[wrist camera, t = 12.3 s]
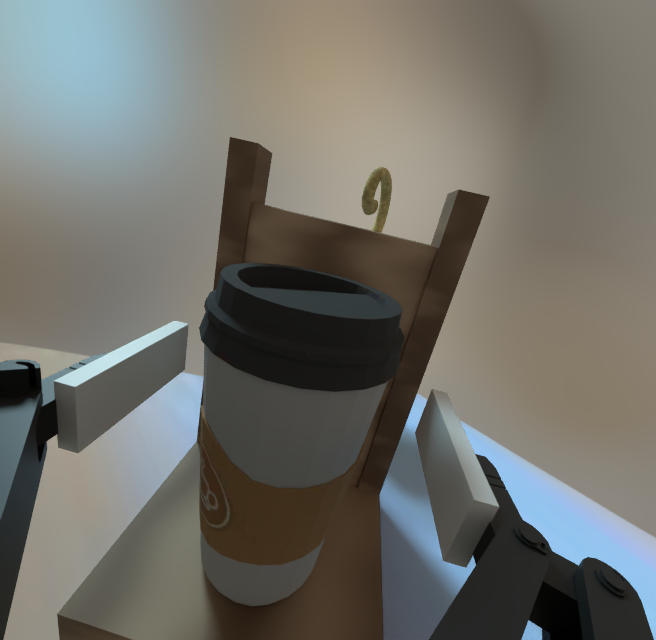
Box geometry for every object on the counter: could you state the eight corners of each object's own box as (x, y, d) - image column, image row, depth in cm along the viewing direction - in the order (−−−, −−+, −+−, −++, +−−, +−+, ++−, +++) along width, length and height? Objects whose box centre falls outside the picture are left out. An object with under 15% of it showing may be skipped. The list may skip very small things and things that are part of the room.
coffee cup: (167, 507, 18) (184, 251, 13) (293, 467, 23) (339, 269, 18) (196, 692, 12) (250, 328, 7) (363, 583, 16) (461, 324, 12)
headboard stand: (60, 649, 14) (0, -6, 6) (209, 445, 26) (247, 147, 19) (369, 755, 13) (711, 144, 5) (370, 492, 25) (474, 200, 18)
